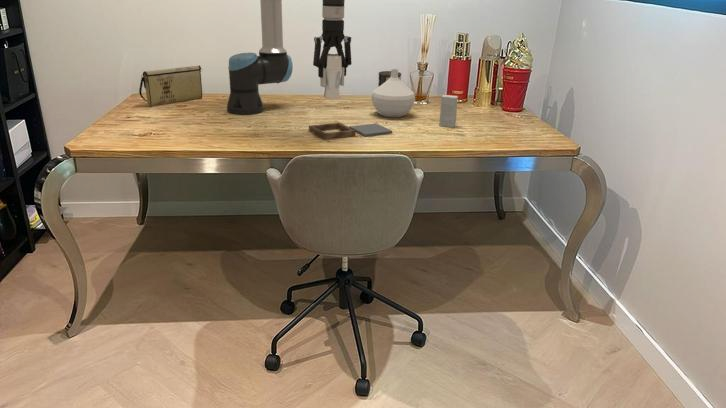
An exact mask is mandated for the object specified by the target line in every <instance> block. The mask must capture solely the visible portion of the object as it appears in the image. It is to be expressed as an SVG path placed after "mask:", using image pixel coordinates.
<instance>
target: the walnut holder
mask: <svg viewBox="0 0 726 408" xmlns="http://www.w3.org/2000/svg"><path fill="white" fill-rule="evenodd" d="M330 130H339V131H332V132H330ZM325 131H329V132H325ZM308 132H310V133H312V134H313V135H314V136H317V137H318V138H320V139H321V140H323V141H325V140H335V139H341V138H349V137H350V138H351V137H356V134H357V133H356V131H355V130H353V129H351V128H349V126H347V125H345V124H343V123H341V122H339V121H338V122H331V123H320V124H312V125H308Z"/></svg>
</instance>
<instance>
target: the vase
mask: <svg viewBox="0 0 726 408" xmlns="http://www.w3.org/2000/svg"><path fill="white" fill-rule="evenodd" d="M390 71H391V77H390V78H389V79H388V80H387V81H386V82H385V83H383V84H382V85H381V86H379V87H376V88H375V89H373V91H372V93H371V101H372V105H373V108H375V110H376V111H377V113H378V114H380V115H381V116H382V117H387V118H402V117H404V116H405V115H407V114H408V113H409V112H410V111H411V109H412V108H413V106H414V103H415V101H416V95H415V92H414V91H413V90H411V89H410V87H408V86H407V85H406V84H405V83H404V82H403V81H402V80H400V79H399V78H398V72H399V68H391V69H390Z"/></svg>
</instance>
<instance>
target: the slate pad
mask: <svg viewBox="0 0 726 408" xmlns="http://www.w3.org/2000/svg"><path fill="white" fill-rule="evenodd" d="M348 127H349V128H351V129H353V130H355V131H356V134H359V135H360V136H362V137H364V138H367V137H375V136H383V135H391V134H393V130H391V129H389V128H387V127H385V126H383V125H380V124H378V123H368V124H367V123H366V124H358V125H351V126H348Z"/></svg>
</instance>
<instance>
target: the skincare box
mask: <svg viewBox="0 0 726 408" xmlns="http://www.w3.org/2000/svg"><path fill="white" fill-rule="evenodd" d="M458 100H459V95H452V94H443V95H442V96H441V100H440V112H439V127H445V128H454V127H455V126H456V124H457V113H458V112H457V111H458Z"/></svg>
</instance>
